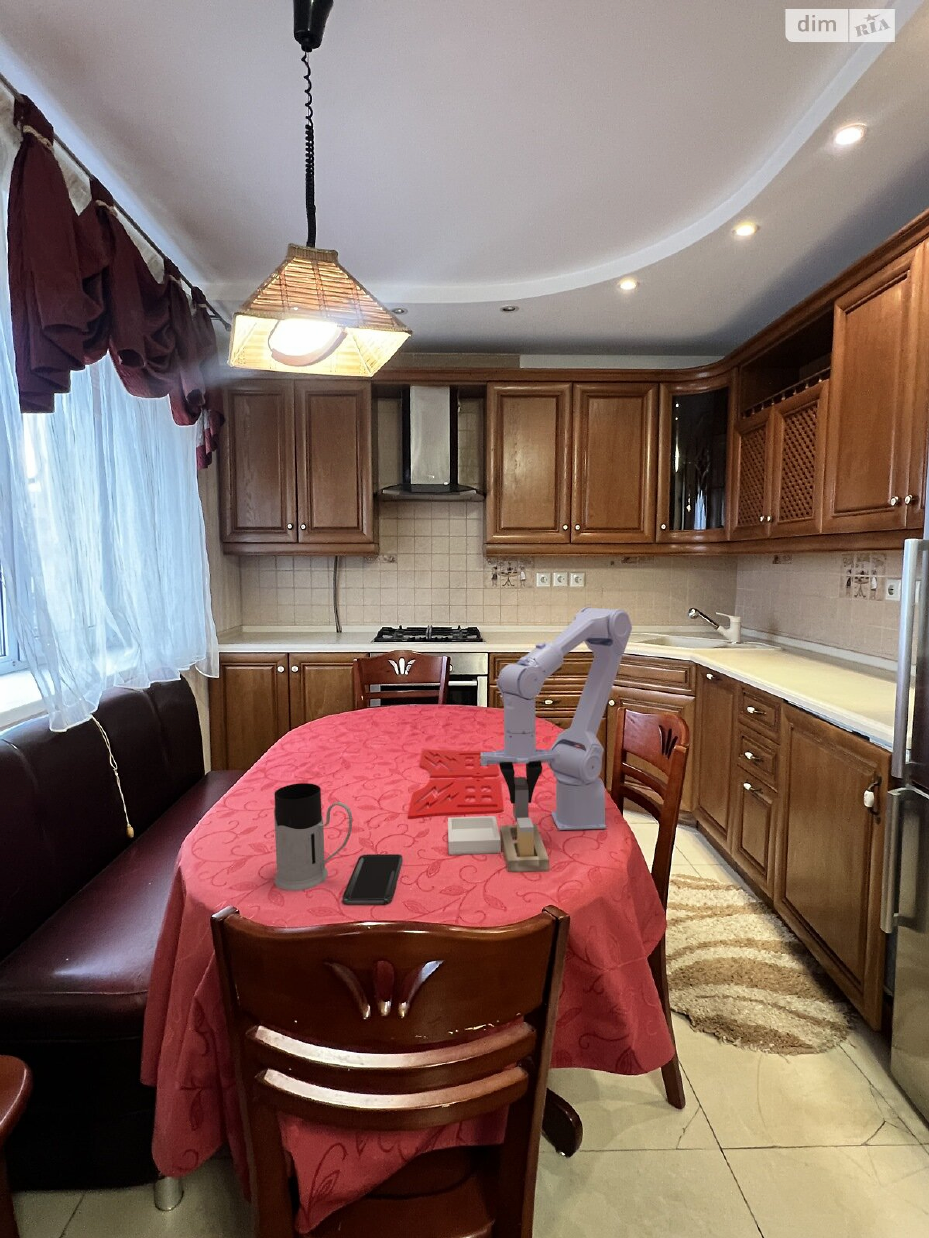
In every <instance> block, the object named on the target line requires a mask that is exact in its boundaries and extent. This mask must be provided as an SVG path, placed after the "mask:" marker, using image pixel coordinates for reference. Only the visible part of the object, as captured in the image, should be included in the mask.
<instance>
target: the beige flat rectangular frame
mask: <svg viewBox="0 0 929 1238" xmlns="http://www.w3.org/2000/svg"><path fill="white" fill-rule="evenodd" d="M532 824H533V826H534V856H531V857H518V856H517V824H501V825H499V835H500V840H501V845H502V850H503V855H504V859H505V860H504V861H505V865H506V868H507V872H508V873H518V872H541V871H542V872H543V871H547V872H548V871H549V870H550V858H549V856H548V853H547V850H546V848H545V845H544V842H543V838H542V836H541V834H540V832H539V829H538V826H537V825H538V824H536V823H532ZM515 838H516V839H515Z"/></svg>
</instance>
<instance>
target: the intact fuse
mask: <svg viewBox="0 0 929 1238" xmlns="http://www.w3.org/2000/svg"><path fill="white" fill-rule="evenodd" d="M533 824H534V823H533V821H532V819H531V817H529V818H517V822H516V825H517V838H516V840H517V854H516V855H517V857H531V856H534V826H533Z"/></svg>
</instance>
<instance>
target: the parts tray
mask: <svg viewBox="0 0 929 1238" xmlns="http://www.w3.org/2000/svg"><path fill="white" fill-rule="evenodd" d="M497 822H498V821H497V817H496V815H494V816H493V815H489V816H488V815H487V816H459V817H457V816H456V817H447V835H448V836H447V838H448V839H447V840H448V843H447V844H448V856H451V855H452V856H455V855H458V856H459V855H461V856H462V855H486V854H487V855H489V854H491V855H492V854H501V853H502V852H501V850H502V848H501V845H502V842H501V837H500V829H499V826H498V823H497Z"/></svg>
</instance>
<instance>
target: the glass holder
mask: <svg viewBox="0 0 929 1238" xmlns="http://www.w3.org/2000/svg"><path fill="white" fill-rule="evenodd" d="M321 790H322V789H321V787H320V786H319V785H318V784H314V783H308V782H307V783H306V782H303V783H301V782H298V783H292V784H289V785H284V786H282V787H280V788H278V789H276V790H275V791H274V810H273V813H274V815H273V816H274V833H275V834H274V835H275V836H274V837H275V839H274V840H275V854H276V855H275V858H276V875H275V877H274V884H276V887H278V889H281V890H285V891H297V892H298V891H304V890H308V888H309V889H312V888H314V887H313V886H315V887H316V885H317V886H319V885H320V884H322V883H323V882H324V881H325V880H326V879H327V878H328V876H329V873H328V870H327V868H326V863H327V862H328V861H330V860H331V859H332V858H334V857H335V856H336V855H337V854H338V853H340V851H341V850H342V849H344V848H345V846H346V845H347V843H348V841H349V839H350V836H351V834H352V829H353V813H352V811H351V808H350V807H349V806H348V805H347V804H345V803H343V802H340V801H338V802H334V803H332V804H330V805H329V807H328V808H327V812H326V815H325V816H326V821H325V822H326V823H324V817H323V815H322V814H323V813H322V791H321ZM334 806H339V807H342V808H344V810H345V811H346V812H347V816H348V830H347V835H346V837H345V839H344V841H343V843H342V844H341V845H340V847H339V848H338V849H337V850H335V852H334V853H332V854H331V855H329V856H328V857H327V858H326V859H325V838H324V837H325V836H324V828H325V827H328V825H329V824H330V820H331V810H332V809H333V808H334ZM318 884H319V885H318ZM311 887H312V888H311Z"/></svg>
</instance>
